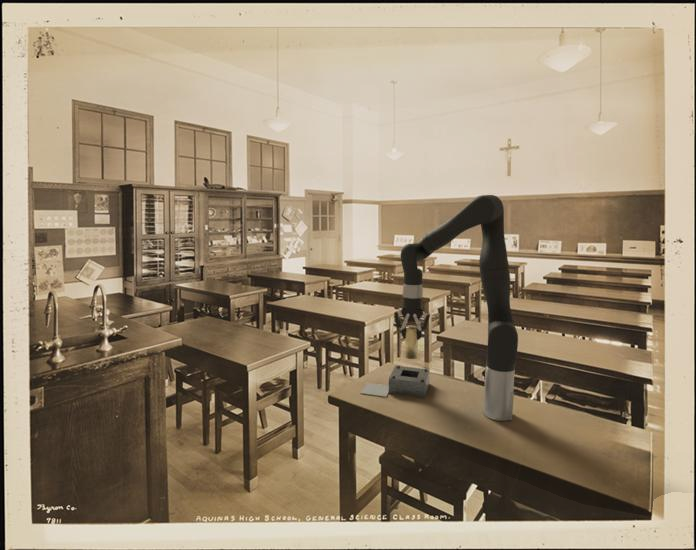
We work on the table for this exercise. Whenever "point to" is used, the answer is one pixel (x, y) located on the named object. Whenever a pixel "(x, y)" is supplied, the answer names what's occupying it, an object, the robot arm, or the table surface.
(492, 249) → the robot arm
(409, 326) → the brass cylindrical shaft
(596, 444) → the table surface
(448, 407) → the table surface
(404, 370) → the grey square socket block
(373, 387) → the rubber mat
